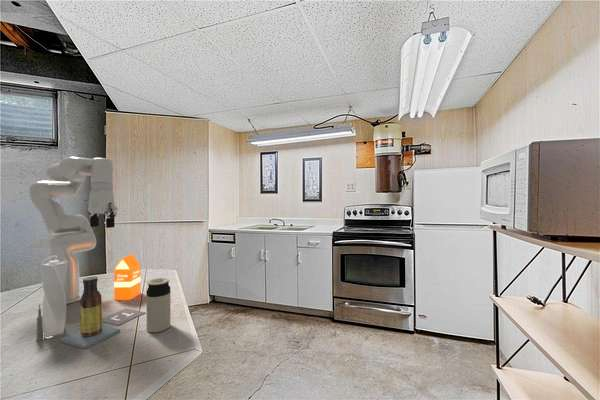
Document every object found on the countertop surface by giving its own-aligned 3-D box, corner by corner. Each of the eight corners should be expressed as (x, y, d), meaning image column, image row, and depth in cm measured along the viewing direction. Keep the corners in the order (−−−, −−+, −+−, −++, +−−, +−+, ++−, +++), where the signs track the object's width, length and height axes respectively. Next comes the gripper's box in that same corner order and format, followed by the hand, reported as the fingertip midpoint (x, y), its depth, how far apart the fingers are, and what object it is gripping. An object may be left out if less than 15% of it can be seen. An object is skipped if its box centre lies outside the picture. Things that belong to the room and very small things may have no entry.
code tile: (96, 320, 107) (96, 319, 107) (125, 308, 119) (125, 308, 119) (118, 325, 103) (118, 324, 103) (145, 312, 115) (145, 312, 115)
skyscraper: (39, 332, 98) (39, 256, 98) (69, 326, 103) (68, 253, 103) (35, 342, 92) (35, 260, 91) (67, 335, 96) (66, 257, 96)
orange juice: (140, 293, 138) (140, 254, 138) (130, 299, 129) (130, 258, 129) (125, 293, 138) (125, 254, 137) (113, 299, 129) (113, 258, 129)
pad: (60, 342, 92) (60, 339, 92) (97, 326, 103) (97, 323, 103) (84, 348, 87) (84, 345, 87) (120, 331, 99) (120, 328, 99)
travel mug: (146, 335, 96) (145, 285, 96) (147, 325, 103) (146, 279, 103) (170, 330, 100) (170, 281, 100) (170, 321, 107) (170, 276, 107)
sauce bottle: (88, 329, 98) (88, 275, 98) (106, 328, 99) (106, 274, 99) (75, 338, 92) (74, 280, 92) (94, 337, 92) (94, 280, 92)
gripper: (79, 187, 115) (79, 227, 115) (107, 186, 109) (107, 228, 109) (97, 187, 122) (97, 225, 122) (124, 187, 116) (125, 227, 116)
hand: (102, 227), depth 116 cm, fingers open, 9 cm apart
